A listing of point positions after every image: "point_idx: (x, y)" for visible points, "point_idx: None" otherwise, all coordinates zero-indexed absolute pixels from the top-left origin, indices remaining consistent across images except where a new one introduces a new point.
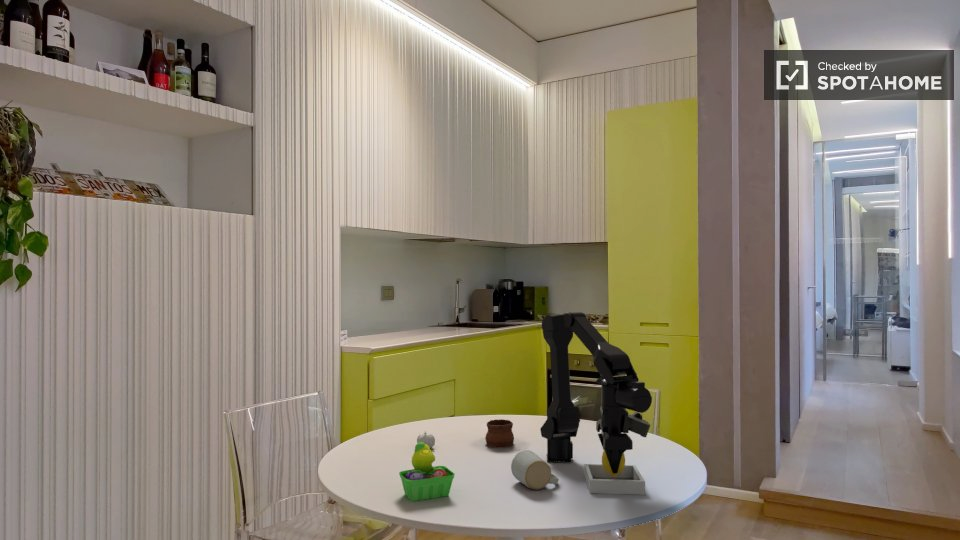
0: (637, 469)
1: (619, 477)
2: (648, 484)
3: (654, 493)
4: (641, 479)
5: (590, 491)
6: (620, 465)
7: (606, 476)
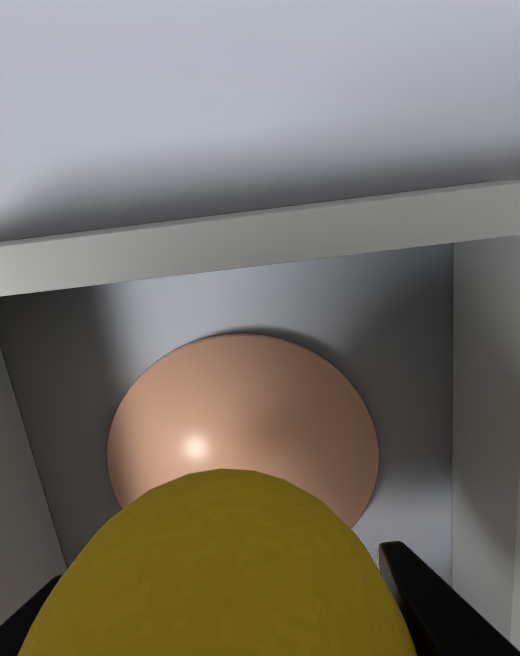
0: (25, 252)
1: (15, 406)
2: (141, 116)
3: (439, 69)
4: (493, 222)
5: None
6: (383, 580)
7: (45, 516)
